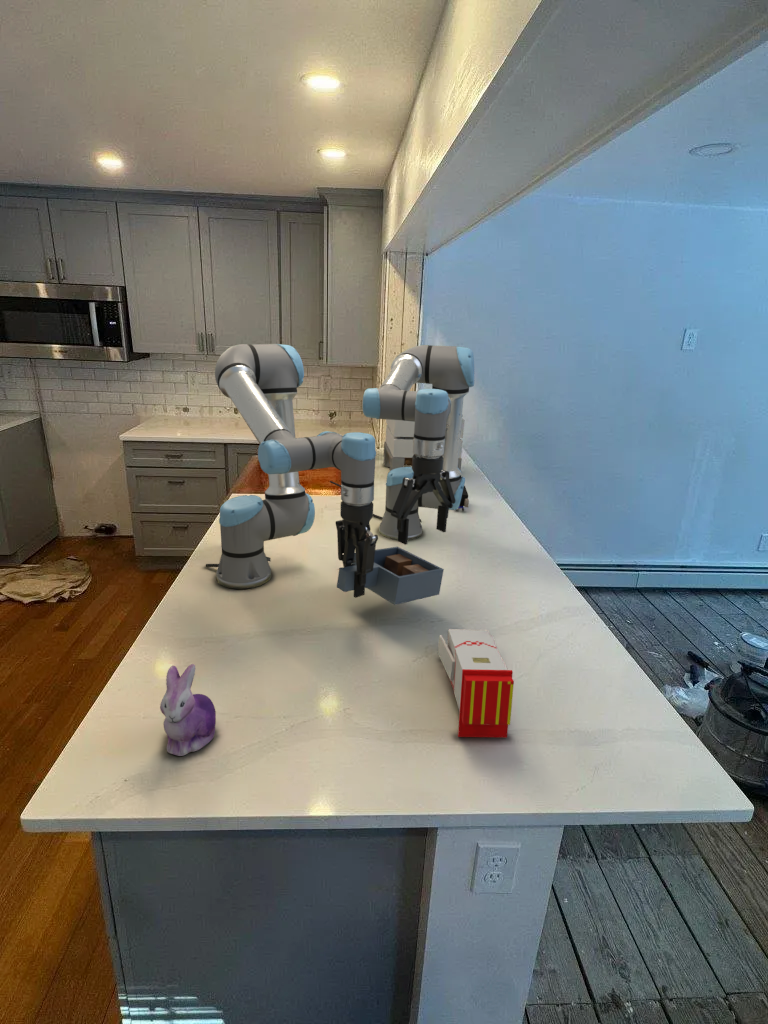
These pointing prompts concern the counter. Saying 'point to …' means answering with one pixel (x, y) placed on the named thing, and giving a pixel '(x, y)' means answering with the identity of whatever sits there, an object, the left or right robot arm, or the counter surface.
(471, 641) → the toy
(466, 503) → the figurine character
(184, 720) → the figurine
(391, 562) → the walnut block
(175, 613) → the counter surface
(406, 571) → the walnut block
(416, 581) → the tray
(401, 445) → the white crate
